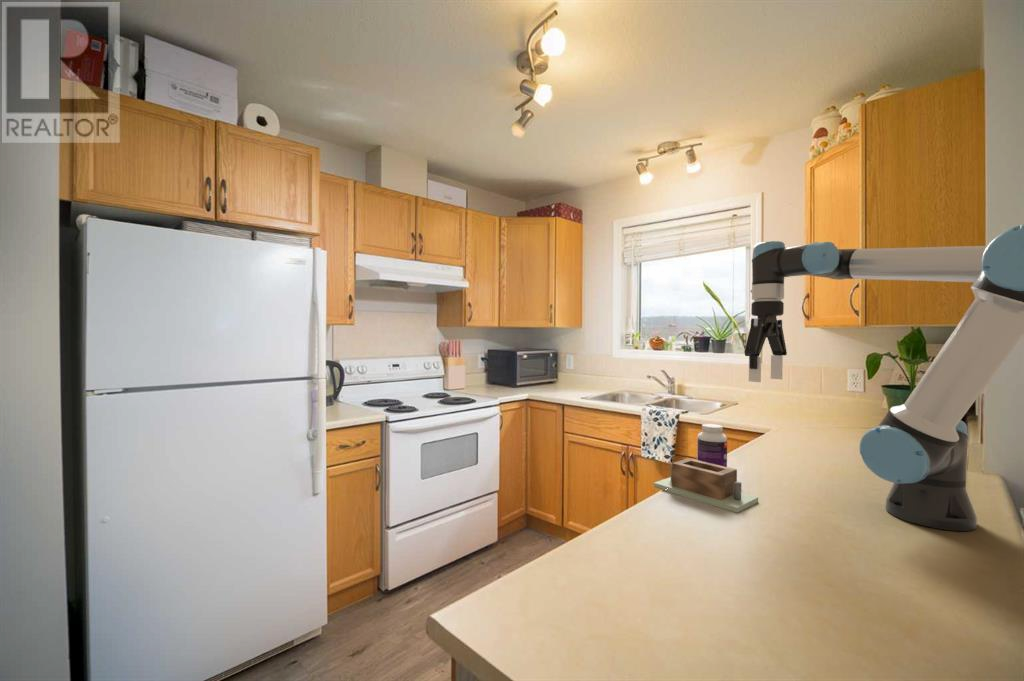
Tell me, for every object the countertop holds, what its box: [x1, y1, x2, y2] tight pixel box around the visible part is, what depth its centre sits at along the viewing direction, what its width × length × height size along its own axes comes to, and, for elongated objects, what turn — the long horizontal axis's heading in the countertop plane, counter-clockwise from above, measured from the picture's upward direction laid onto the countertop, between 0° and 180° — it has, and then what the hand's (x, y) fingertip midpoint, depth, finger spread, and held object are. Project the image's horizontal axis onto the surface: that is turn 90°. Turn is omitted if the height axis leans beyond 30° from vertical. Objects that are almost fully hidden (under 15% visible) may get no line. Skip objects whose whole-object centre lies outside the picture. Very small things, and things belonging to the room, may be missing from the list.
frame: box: [671, 457, 738, 500], centre depth 117 cm, size 13×8×6 cm, turn 39°
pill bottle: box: [696, 423, 728, 467], centre depth 133 cm, size 8×8×14 cm
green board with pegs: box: [653, 465, 759, 514], centre depth 117 cm, size 22×11×5 cm, turn 39°
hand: (765, 380), depth 123 cm, fingers open, 13 cm apart
